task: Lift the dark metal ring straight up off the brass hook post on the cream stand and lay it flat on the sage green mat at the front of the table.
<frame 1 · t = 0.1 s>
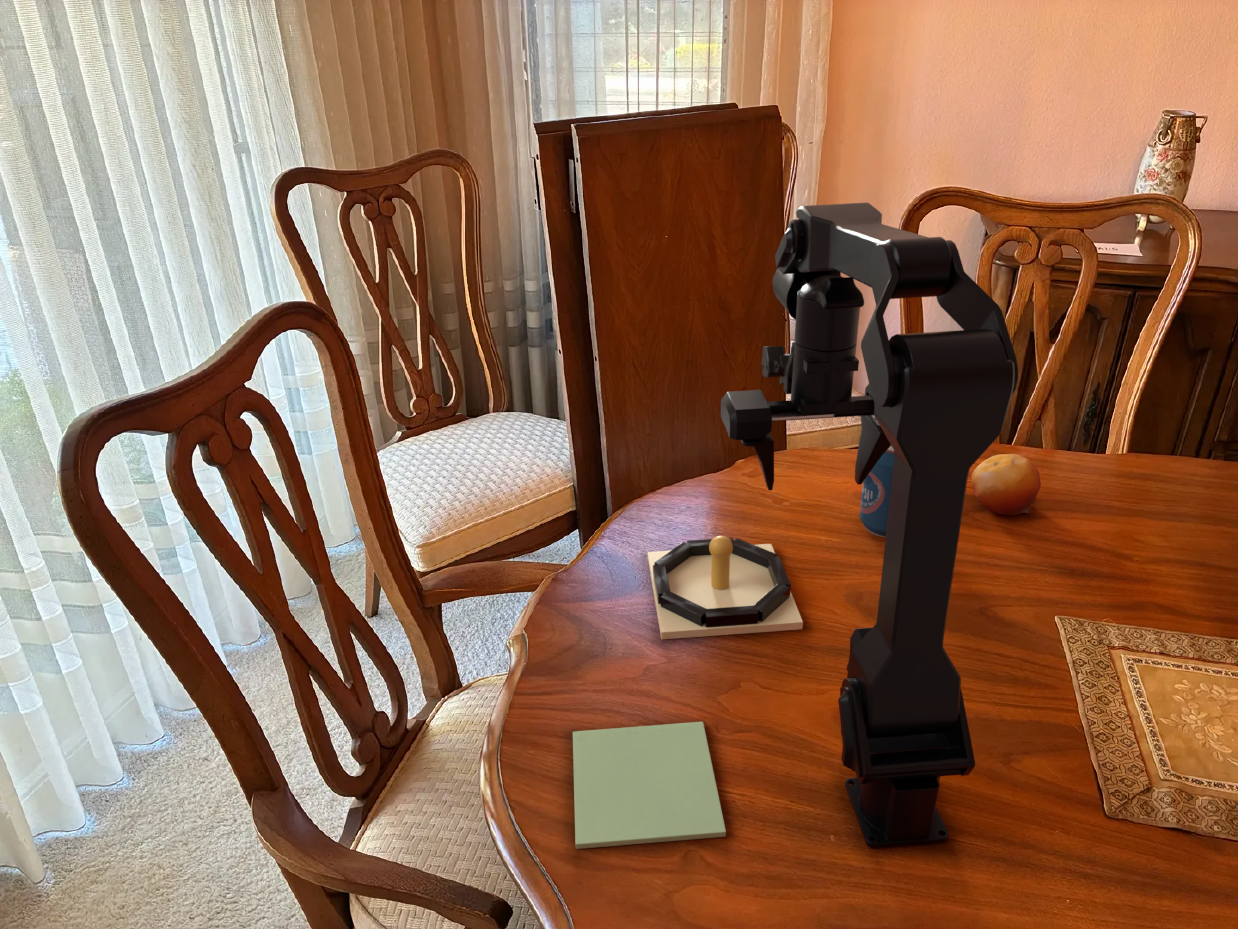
hand: (813, 485, 88), 15 cm above the table, tool pointing down, fingers open, 9 cm apart
stand: (720, 591, 97), on the table
mat: (644, 783, 73), on the table
ring: (720, 579, 96), point 2 cm above the table, touching stand
fruit: (1000, 506, 111), on the table
soda can: (886, 527, 107), on the table
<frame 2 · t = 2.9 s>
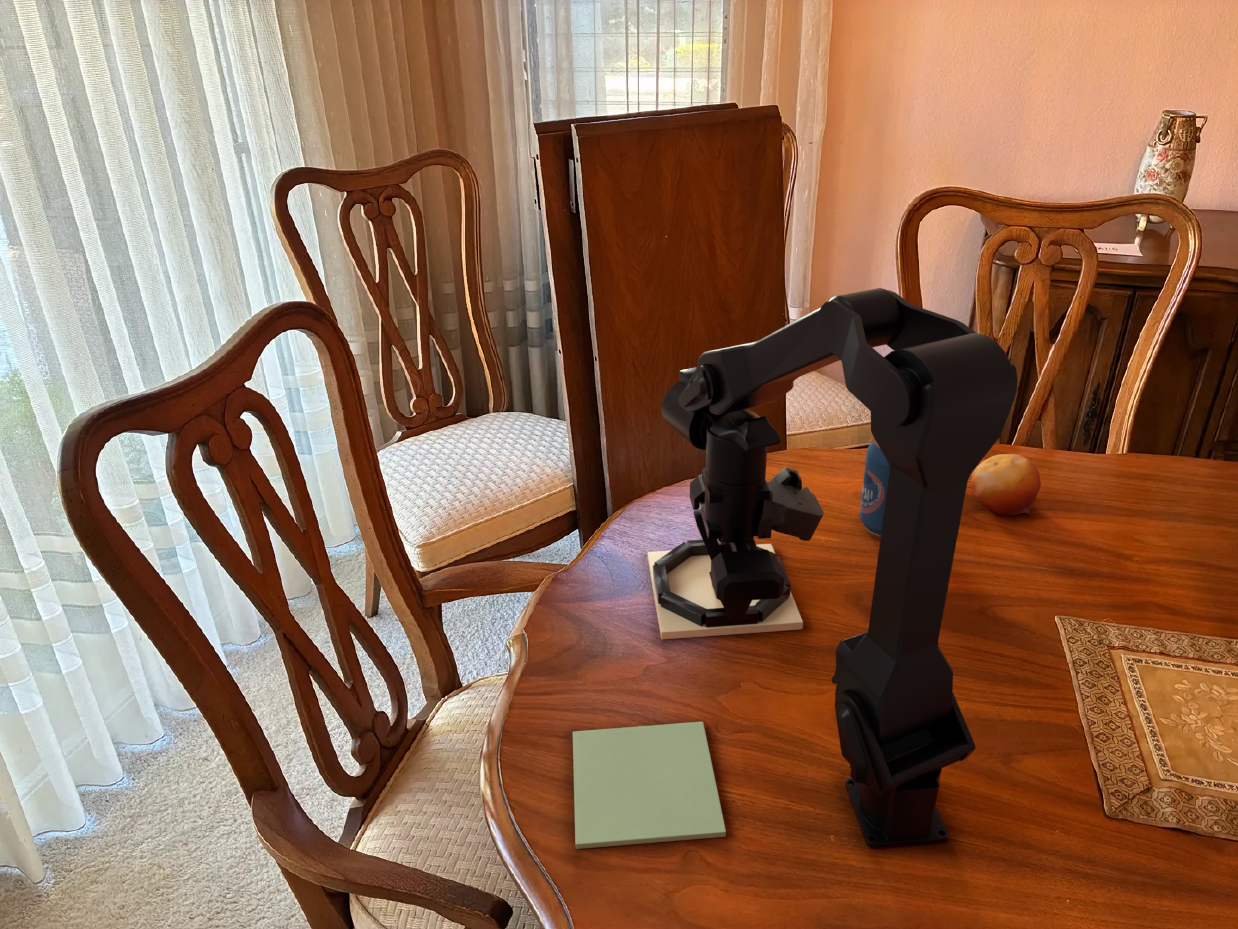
hand: (729, 599, 90), 4 cm above the table, tool pointing down, fingers open, 7 cm apart
nothing on the table moved.
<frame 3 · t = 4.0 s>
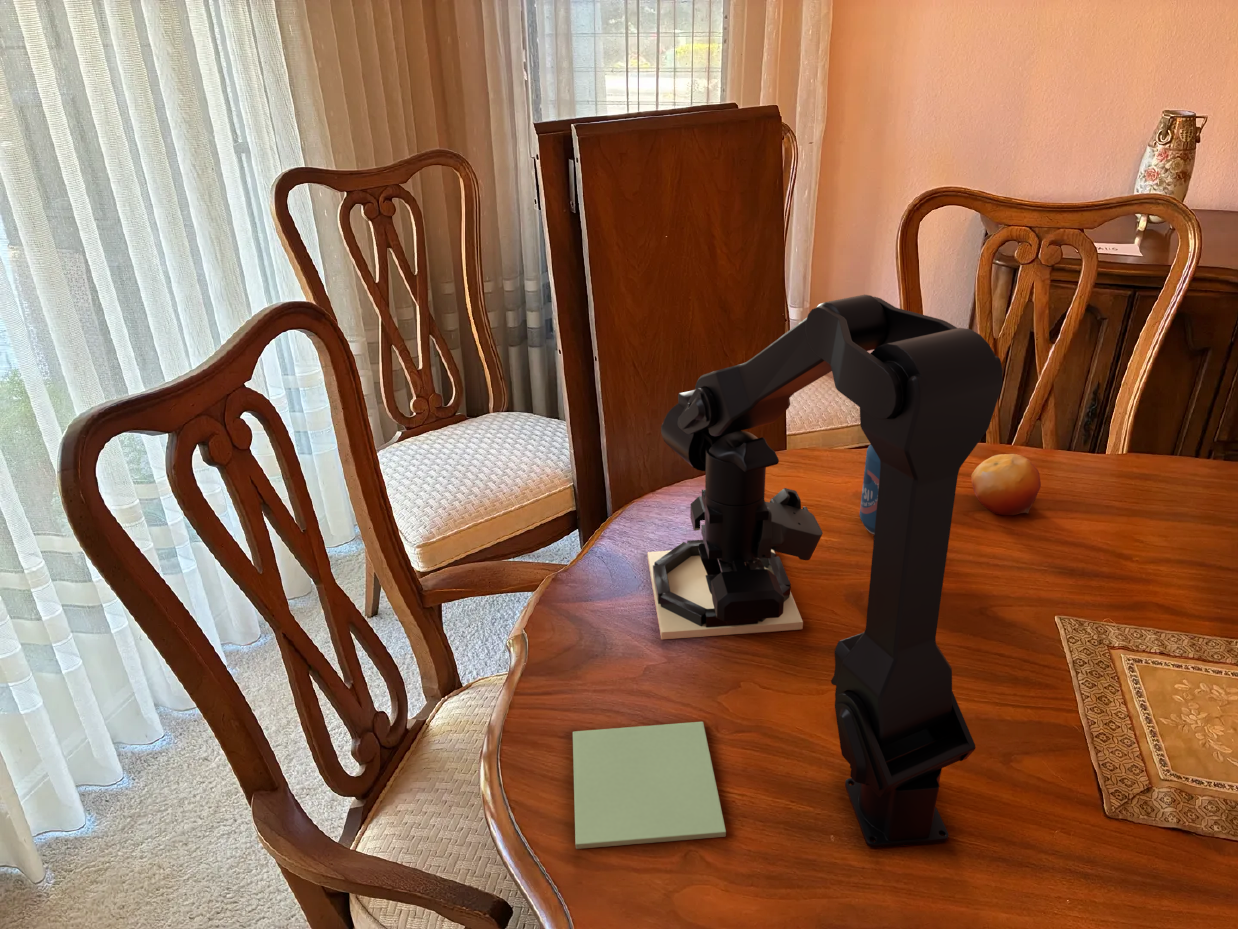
hand: (731, 619, 90), 1 cm above the table, tool pointing down, fingers closed on ring, 1 cm apart
ring: (720, 579, 96), point 2 cm above the table, touching gripper, stand
everything else where it was.
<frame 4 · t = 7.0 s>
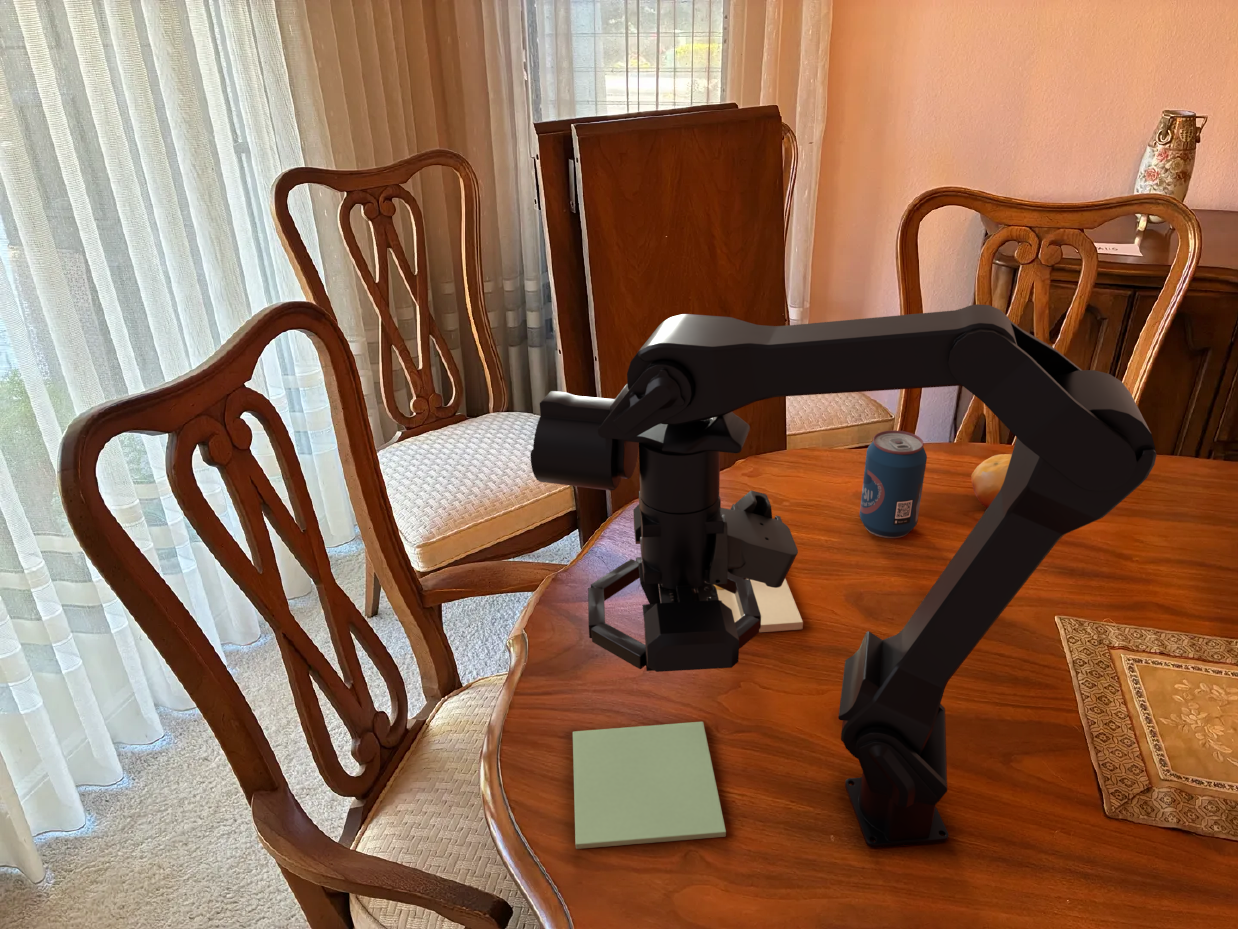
hand: (680, 660, 69), 12 cm above the table, tool pointing down, fingers closed on ring
ring: (672, 607, 75), point 12 cm above the table, touching gripper
everything else where it was.
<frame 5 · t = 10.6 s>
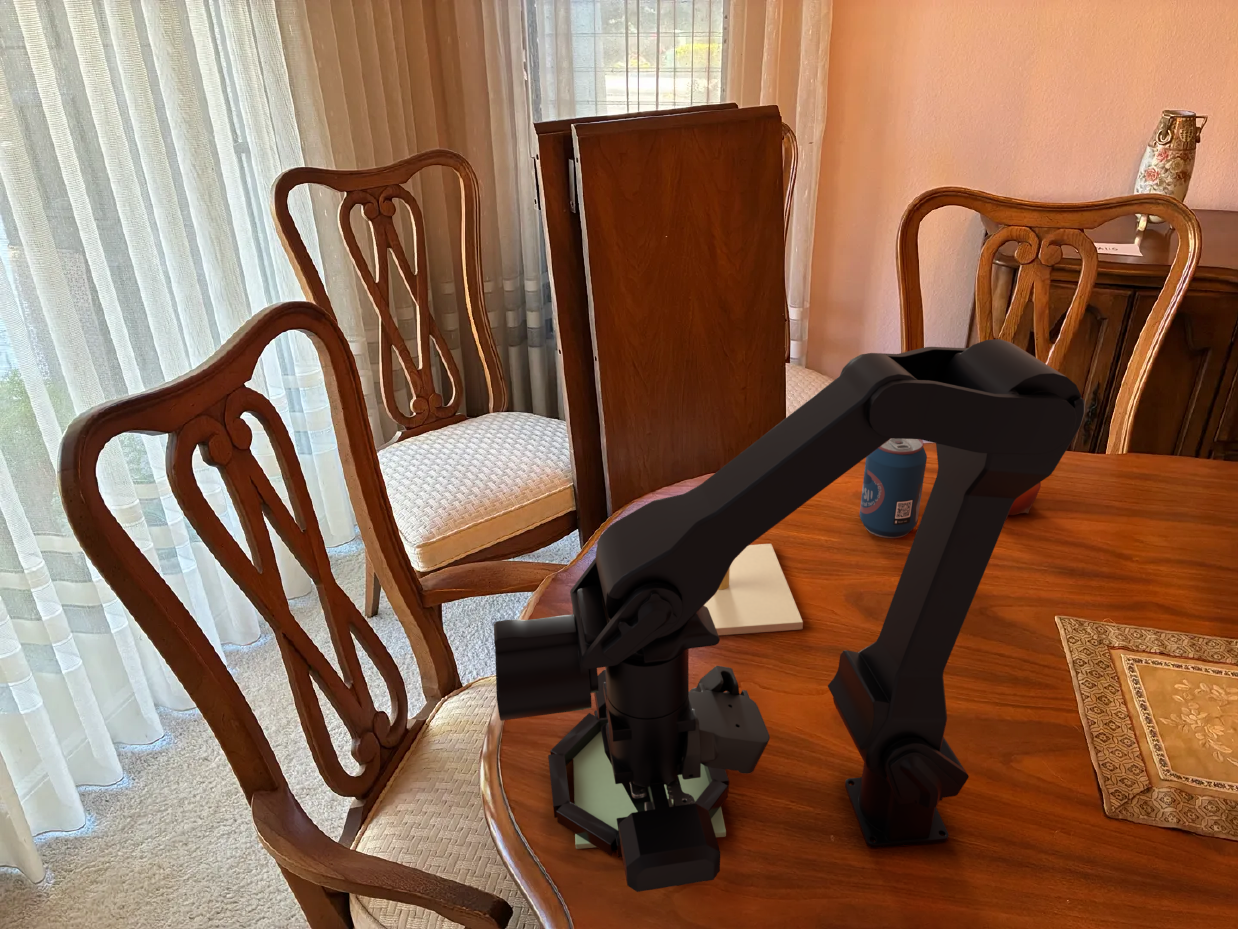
hand: (651, 840, 67), 1 cm above the table, tool pointing down, fingers open, 5 cm apart
ring: (636, 773, 73), point 1 cm above the table, touching mat
everything else where it was.
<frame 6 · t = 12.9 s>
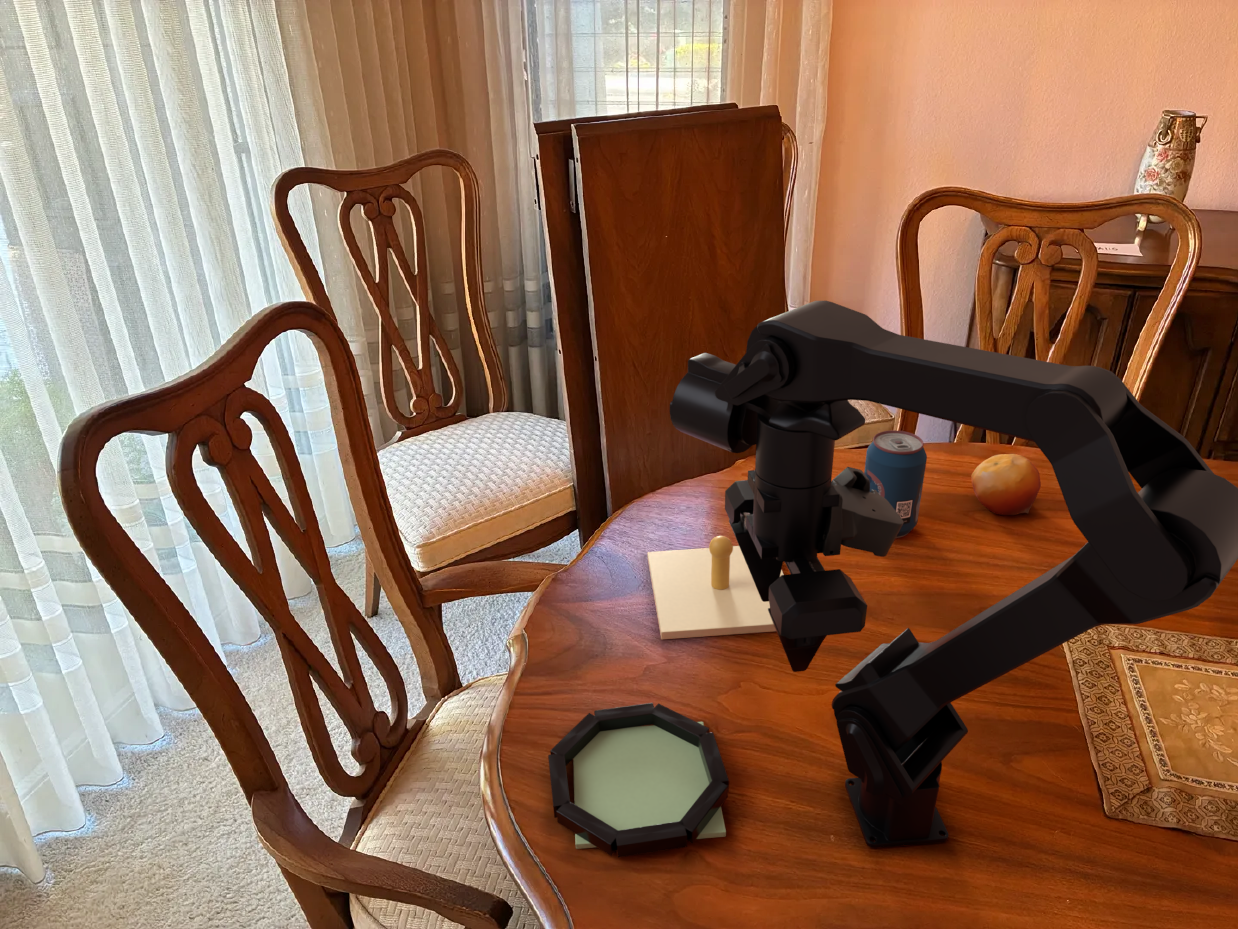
hand: (782, 633, 72), 12 cm above the table, tool pointing down, fingers open, 9 cm apart
nothing on the table moved.
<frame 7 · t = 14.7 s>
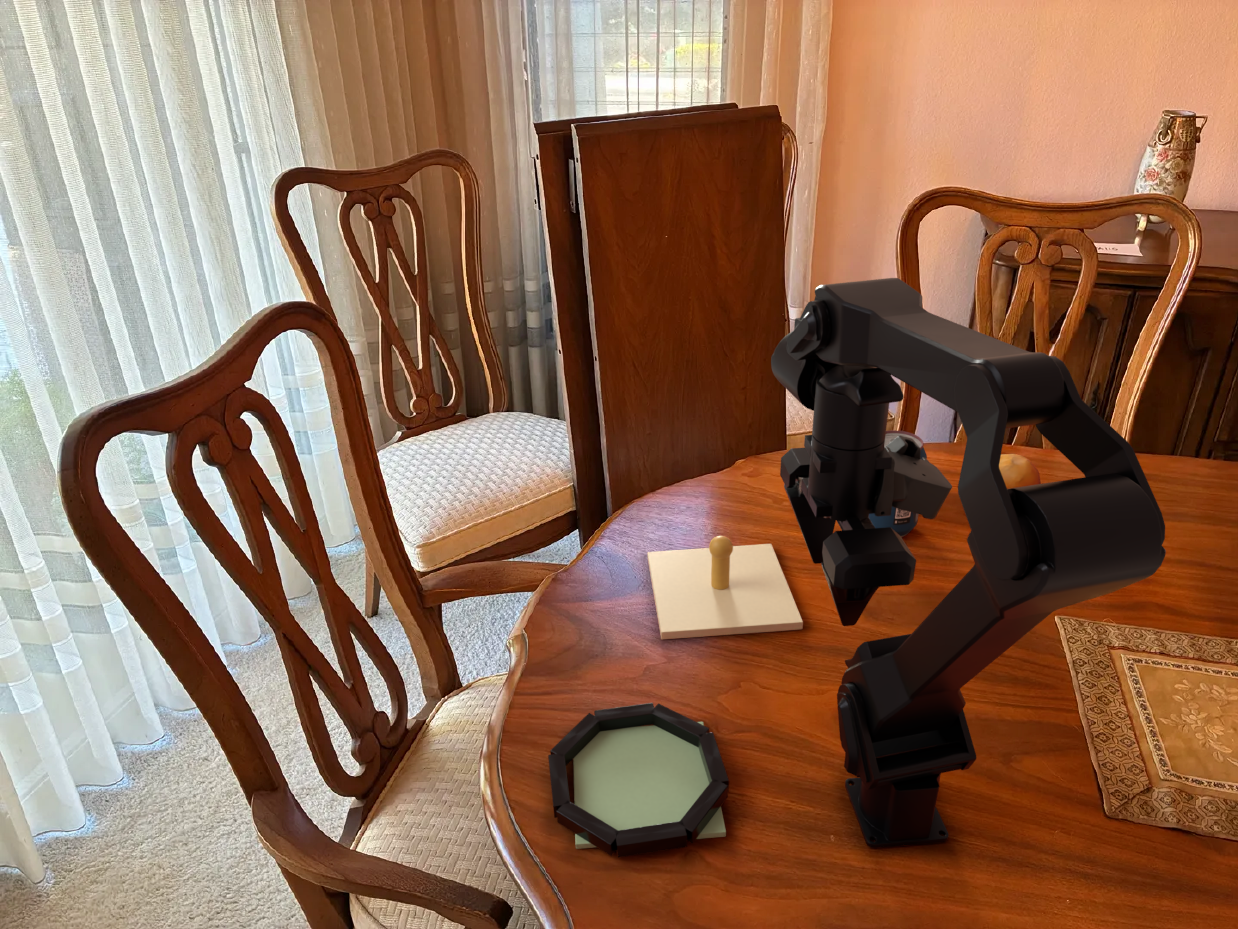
hand: (832, 592, 76), 12 cm above the table, tool pointing down, fingers open, 9 cm apart
nothing on the table moved.
at the end: ring inside the target area on the mat (0.6 cm from its centre), point 1.3 cm above the mat's base; ring touching mat; the gripper is holding nothing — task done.
